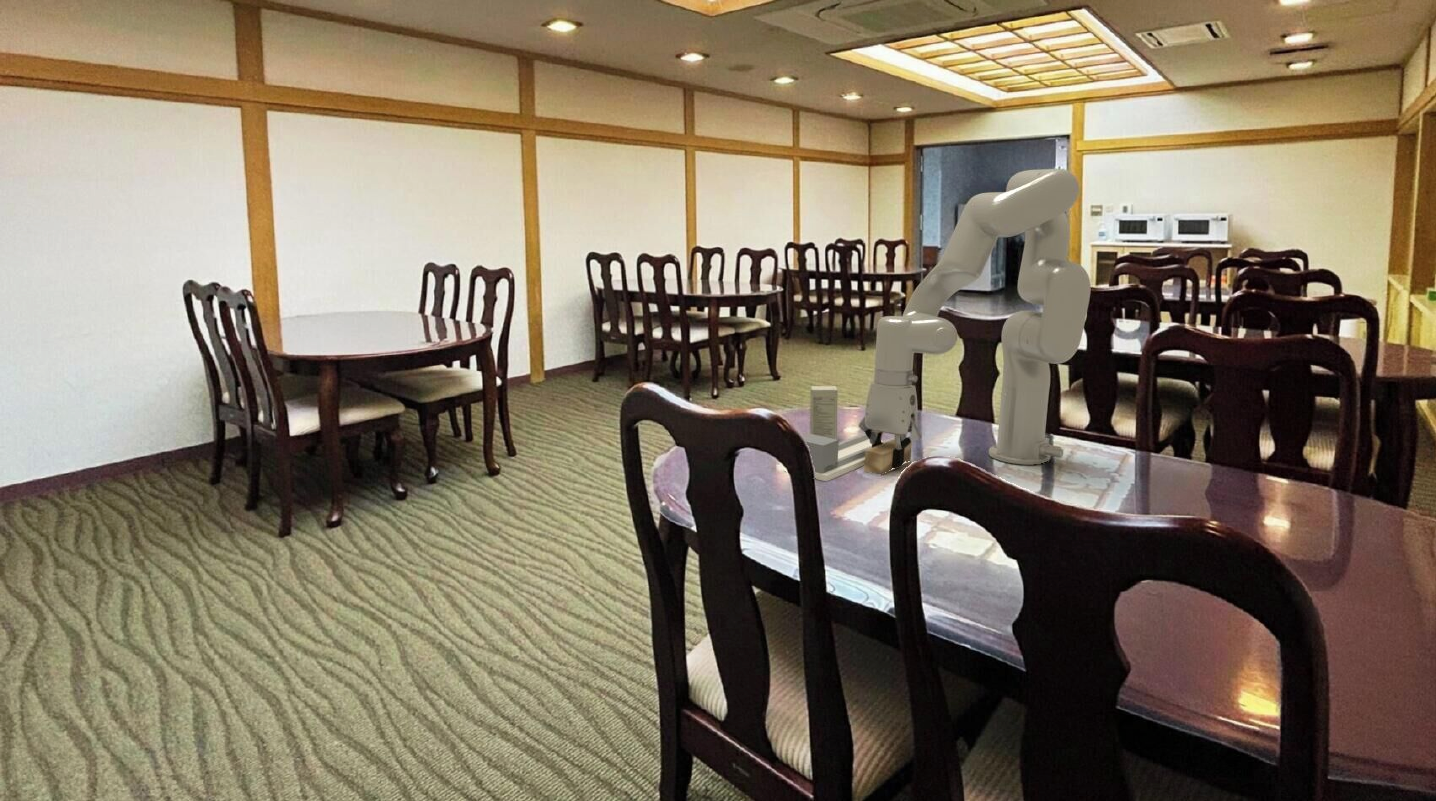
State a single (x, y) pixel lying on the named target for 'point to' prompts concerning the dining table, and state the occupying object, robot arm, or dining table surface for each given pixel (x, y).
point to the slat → (883, 457)
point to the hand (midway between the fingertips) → (887, 463)
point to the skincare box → (823, 411)
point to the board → (837, 454)
